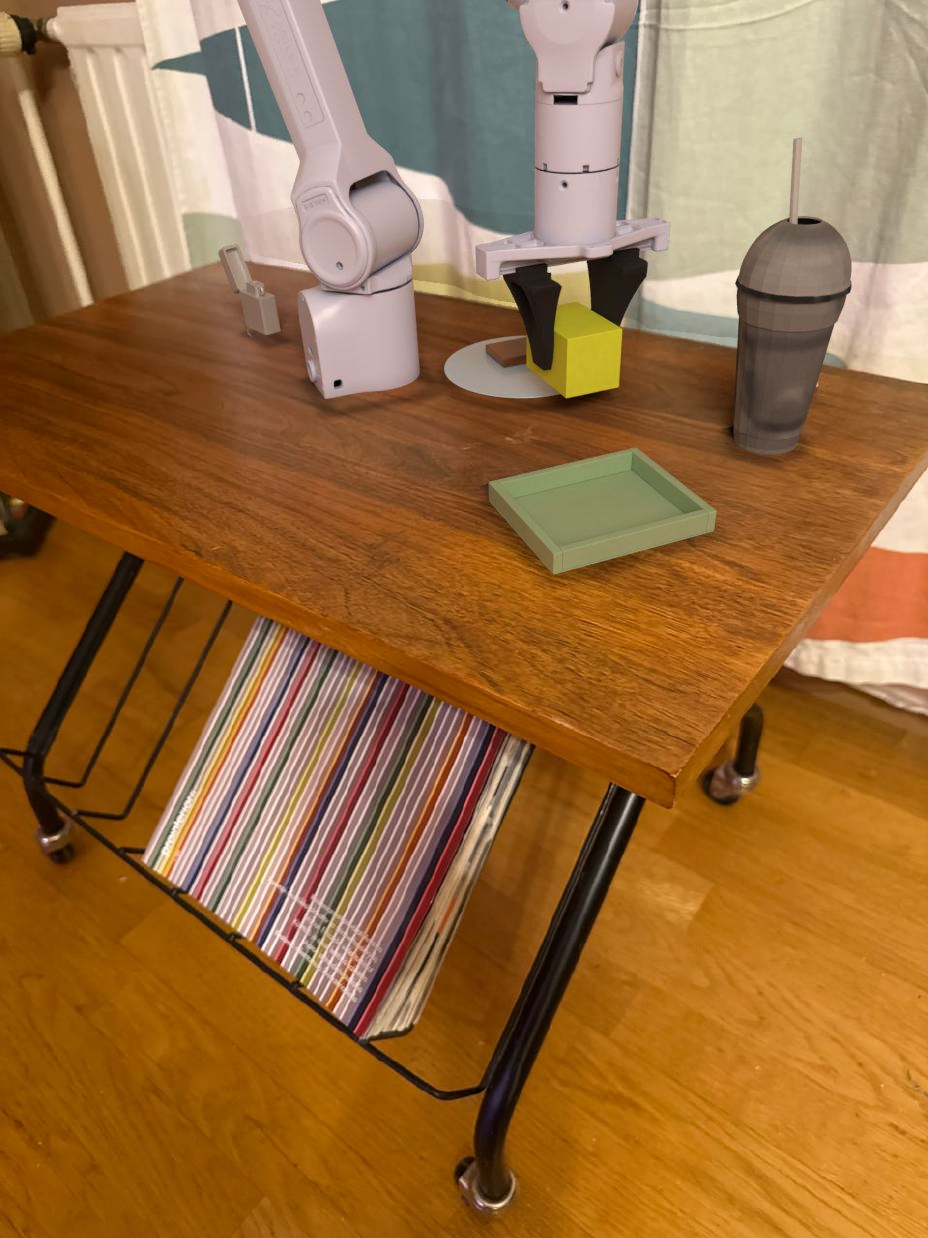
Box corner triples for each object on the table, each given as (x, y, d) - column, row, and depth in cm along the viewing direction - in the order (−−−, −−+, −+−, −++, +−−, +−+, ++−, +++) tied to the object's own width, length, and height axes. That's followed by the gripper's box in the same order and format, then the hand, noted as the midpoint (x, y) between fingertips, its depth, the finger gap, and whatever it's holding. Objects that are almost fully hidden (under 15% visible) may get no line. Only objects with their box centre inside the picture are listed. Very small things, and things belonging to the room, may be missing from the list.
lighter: (283, 340, 87) (269, 254, 83) (267, 344, 87) (252, 258, 82) (247, 323, 92) (232, 240, 87) (232, 327, 91) (216, 244, 86)
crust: (503, 368, 77) (503, 359, 76) (485, 352, 80) (485, 344, 79) (545, 359, 78) (545, 350, 77) (526, 345, 81) (526, 336, 80)
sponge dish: (553, 579, 53) (553, 554, 52) (488, 505, 61) (488, 481, 59) (713, 535, 56) (717, 510, 55) (634, 469, 64) (636, 446, 62)
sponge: (566, 398, 67) (567, 339, 64) (526, 366, 72) (526, 310, 69) (619, 387, 68) (623, 328, 65) (576, 356, 73) (578, 301, 70)
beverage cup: (800, 476, 62) (867, 154, 50) (698, 454, 65) (738, 146, 53) (828, 434, 67) (895, 131, 54) (732, 415, 70) (775, 125, 58)
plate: (481, 422, 71) (481, 410, 70) (421, 362, 81) (421, 351, 81) (636, 388, 75) (637, 377, 74) (560, 336, 85) (560, 325, 85)
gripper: (502, 190, 56) (506, 396, 64) (702, 161, 60) (681, 359, 68) (460, 170, 61) (469, 363, 69) (646, 145, 65) (633, 331, 73)
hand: (571, 359), depth 69 cm, fingers closed on sponge, 4 cm apart
